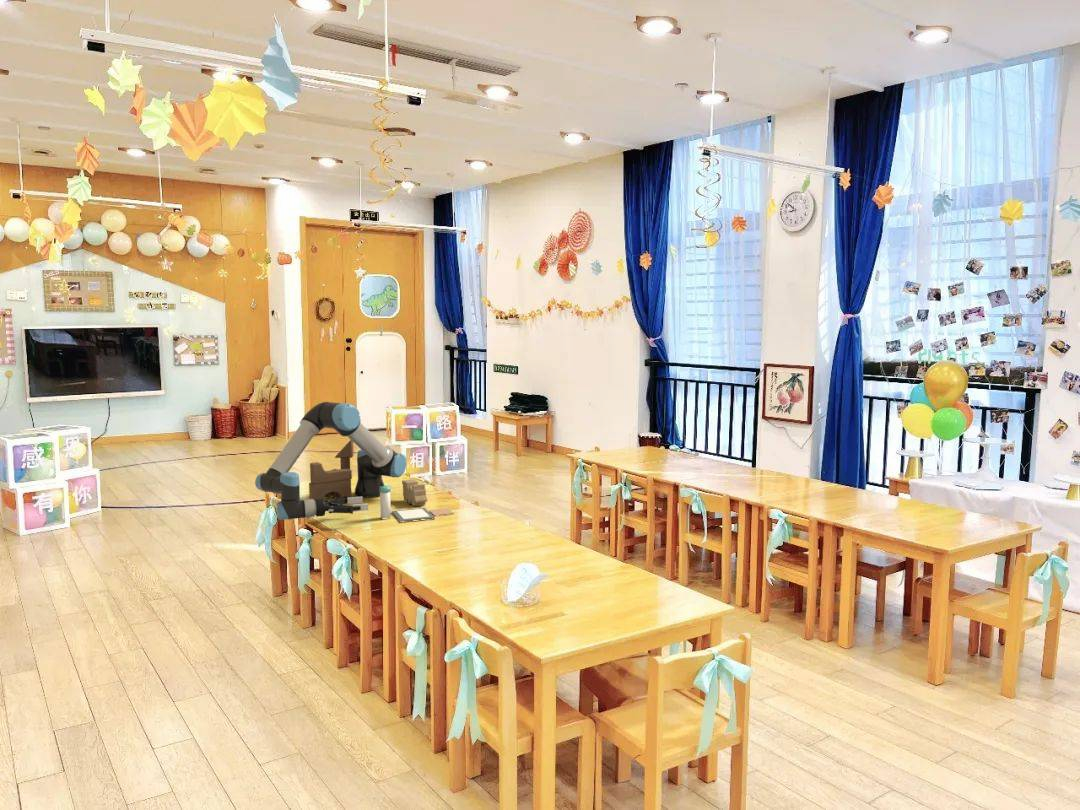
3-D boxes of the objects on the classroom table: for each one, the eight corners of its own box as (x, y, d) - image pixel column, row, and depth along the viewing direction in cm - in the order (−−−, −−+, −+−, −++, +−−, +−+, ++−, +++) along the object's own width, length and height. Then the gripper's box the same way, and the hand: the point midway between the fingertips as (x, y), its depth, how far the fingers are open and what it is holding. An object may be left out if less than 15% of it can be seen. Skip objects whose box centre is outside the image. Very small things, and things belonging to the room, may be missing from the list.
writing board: (392, 512, 358) (392, 510, 358) (424, 509, 364) (424, 507, 364) (400, 522, 342) (400, 520, 342) (434, 519, 348) (434, 517, 347)
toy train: (416, 508, 367) (415, 486, 366) (402, 500, 381) (401, 480, 380) (427, 506, 370) (426, 485, 368) (413, 498, 384) (412, 478, 383)
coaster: (429, 511, 360) (429, 510, 360) (448, 509, 364) (448, 508, 364) (434, 516, 352) (434, 515, 352) (453, 514, 356) (453, 513, 355)
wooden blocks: (347, 490, 402) (345, 435, 398) (362, 498, 386) (360, 441, 382) (299, 496, 388) (297, 440, 385) (312, 505, 372) (310, 446, 368)
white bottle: (379, 517, 351) (378, 486, 349) (389, 516, 352) (389, 485, 351) (381, 519, 346) (380, 488, 345) (392, 518, 348) (391, 487, 346)
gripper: (311, 509, 349) (360, 504, 357) (318, 523, 326) (370, 518, 334) (311, 492, 348) (360, 488, 356) (318, 506, 325) (370, 501, 333)
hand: (365, 503), depth 345 cm, fingers open, 13 cm apart
